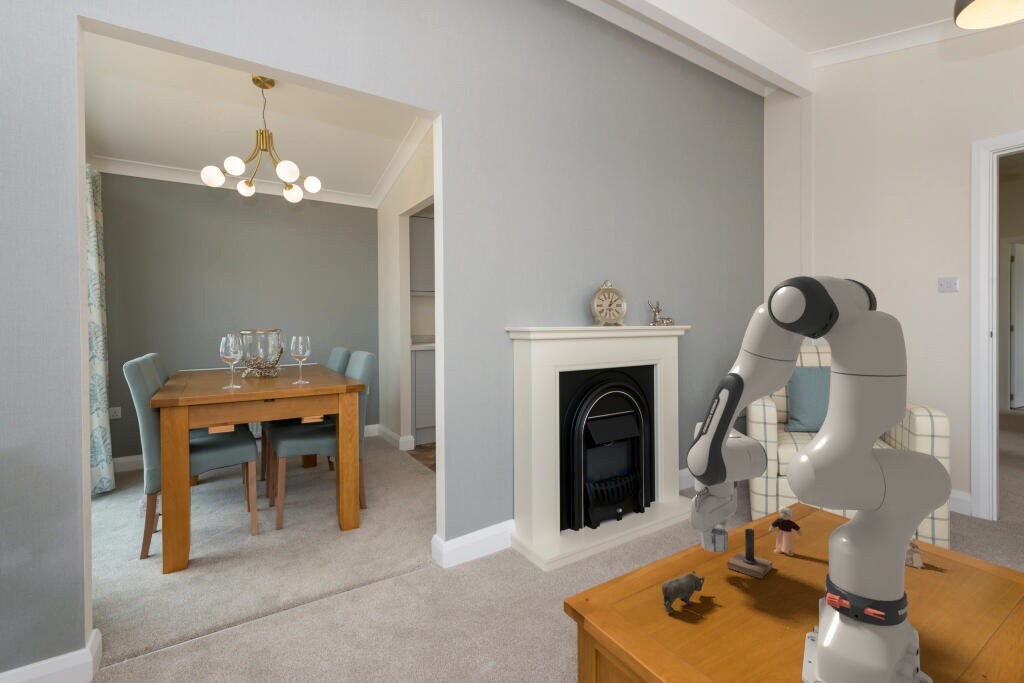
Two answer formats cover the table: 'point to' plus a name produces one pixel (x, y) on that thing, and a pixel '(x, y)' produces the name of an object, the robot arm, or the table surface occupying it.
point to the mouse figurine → (913, 555)
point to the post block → (749, 559)
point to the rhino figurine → (681, 589)
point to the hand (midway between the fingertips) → (714, 540)
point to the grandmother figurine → (784, 531)
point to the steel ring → (717, 540)
